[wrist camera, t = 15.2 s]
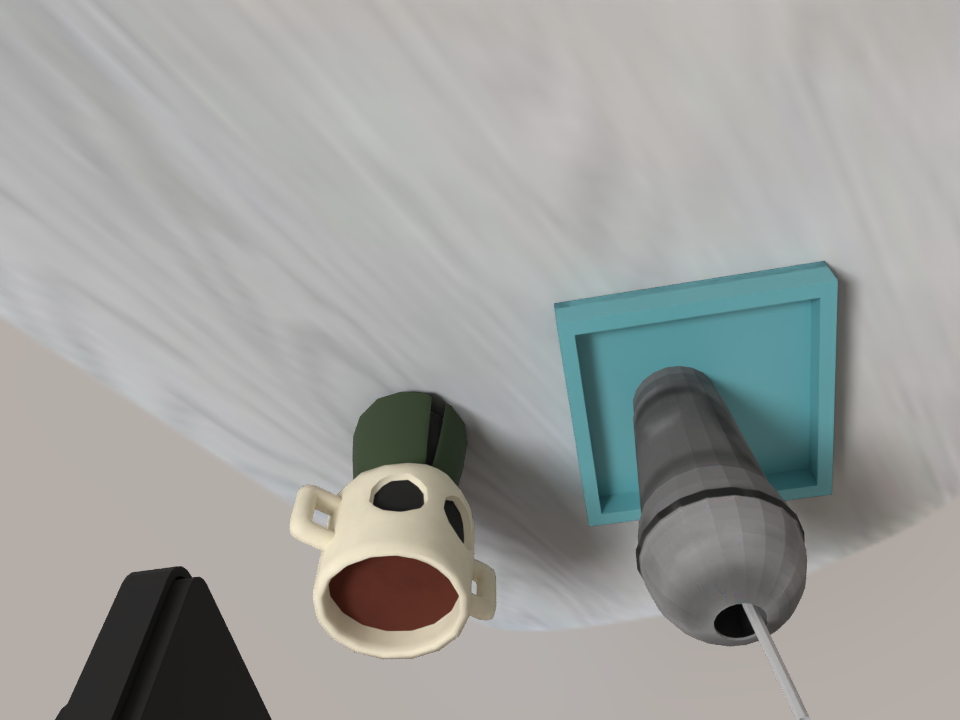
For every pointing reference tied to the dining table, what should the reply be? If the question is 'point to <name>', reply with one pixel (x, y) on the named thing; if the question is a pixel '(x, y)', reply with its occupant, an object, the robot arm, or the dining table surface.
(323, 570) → the character mug
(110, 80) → the dining table surface
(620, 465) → the tray
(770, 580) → the beverage cup
